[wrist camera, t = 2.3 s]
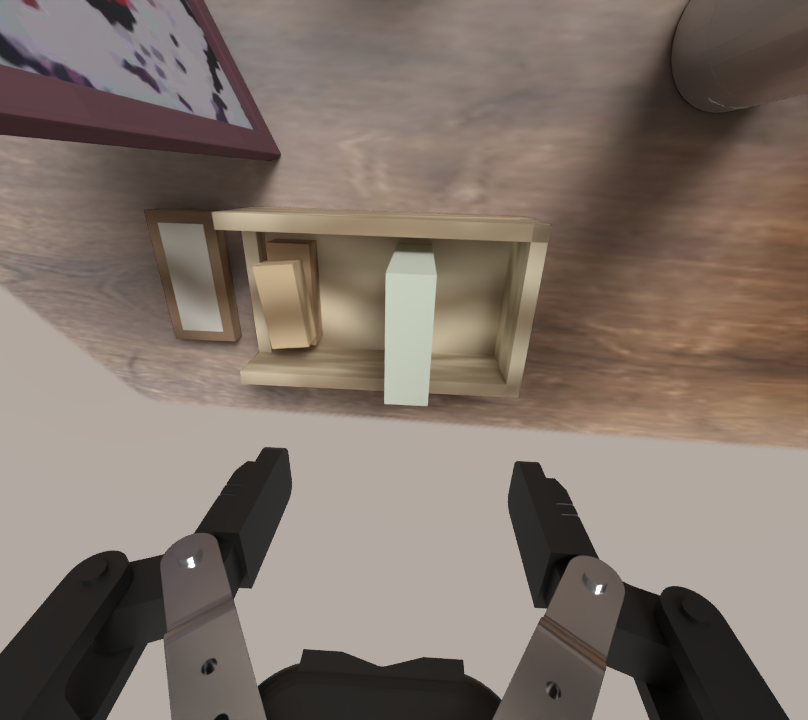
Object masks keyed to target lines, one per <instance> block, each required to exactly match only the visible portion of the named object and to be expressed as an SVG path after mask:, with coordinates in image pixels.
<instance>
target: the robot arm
mask: <svg viewBox="0 0 808 720" xmlns="http://www.w3.org/2000/svg"><path fill="white" fill-rule="evenodd" d="M671 61H672V74H673V77H674V80H675V84H676V87H677V89H678V90H679V92H680V93H681V95H682V97H683V98H684V99H685V100H686V101H687V102H688V103H689V104H691V105H692V106H693V107H695V108H698V109H700V110H702V111H706V112H712V113H721V112H730V111H734V110H739V109H743V108H744V109H746V108H750V107H754V106H758V105H761V104H764V103H768V102H773V101H777V100H781V99H786V98H790V97H794V96H798V95H803V94H807V93H808V0H690V2H689V3H688V5H687V6H686V8H685V10H684V12H683V15H682V17H681V19H680V21H679V24H678V26H677V30H676V34H675V37H674V41H673V48H672V57H671ZM291 489H292V478H291V471H290V463H289V455H288V450H287V449H286V448H271V447H265V448H263V449H262V451H261V453H260V454H259V456H258V458H257V459H256V461H255V462H252V461H247V462H246V463H244V465H242V466H241V467H239V468H238V469H237V470H236V471H235V472H234V473H233V475H232V476H231V478H230V479H229V481H228V482H227V485H226V486H225V487H224V488H223V490H222V491H221V494H220V496H218V498H217V499H216V501H215V502H214V504H213V505H212V507H211V508H210V510H209V511H208V513H207V514H206V516H205V518H204V519H203V521H202V522H201V524H200V525H199V527H198V528H197V530H196V531H195V533H194V534H191V535H189V536H186V537H184V538H182V539H180V540H178V541H177V542H176V543H174V544H173V545H172V546H171V547H170V548H169V549H168V550H167V551H166V552H165V554H163V555H159V556H155V557H151V558H146V559H142V560H137V561H133V562H129V561H128V559H127V557H126V555H125V554H124V553H122V552H120V551H106V552H102V553H99V554H96V555H93V556H91V557H89V558H87V559H86V560H84V561H82V562H81V563H79V564H78V565H77V566H75V567H74V568H73V569H72V570H71V571H70V572H69V573H68V574H67V575H66V577H65V578H64V579H63V580H62V581H61V582H60V584H59V585H58V586H57V587H56V588H55V590H54V591H53V592H52V593H51V594H50V596H49V597H48V598H47V599H46V600H45V601H44V603H43V604H42V605H41V606H40V607H39V609H38V610H37V611H36V612H35V613H34V614H33V616H32V617H31V618H30V619H29V621H27V623H26V624H25V625H24V626H23V627H22V629H21V630H20V631H19V632H18V633H17V635H16V636H15V637H14V638H13V639H12V641H11V642H10V643H9V644H8V645H7V646H6V648H5V649H4V650H3V651H2V652H1V654H0V720H106V719H107V717H108V715H109V713H110V711H111V710H112V708H113V706H114V704H115V702H116V700H117V699H118V697H119V695H120V693H121V691H122V689H123V687H124V686H125V684H126V682H127V680H128V678H129V676H130V675H131V673H132V671H133V669H134V667H135V665H136V664H137V662H138V660H139V658H140V656H141V654H142V652H143V651H144V649H145V647H146V645H147V643H149V642H153V641H157V640H161V639H164V649H165V659H166V668H167V679H168V689H169V699H170V709H171V718H172V720H592V716H593V712H594V709H595V706H596V703H597V699H598V696H599V692H600V689H601V685H602V681H603V678H604V674H605V671H606V666H608V667H610V668H613V669H615V670H617V671H620V672H622V673H625V674H627V675H629V676H631V677H633V678H634V680H635V683H636V685H637V688H638V691H639V693H640V696H641V699H642V701H643V704H644V706H645V709H646V712H647V714H648V717H649V719H650V720H789V718H788V717H787V715H786V713H785V712H784V710H783V709H782V708H781V706H780V704H779V703H778V701H777V700H776V698H775V696H774V695H773V693H772V692H771V690H770V689H769V687H768V685H767V684H766V682H765V681H764V679H763V678H762V676H761V675H760V673H759V672H758V670H757V668H756V667H755V665H754V664H753V662H752V661H751V659H750V657H749V656H748V654H747V653H746V651H745V650H744V648H743V647H742V645H741V643H740V642H739V640H738V639H737V637H736V636H735V634H734V632H733V631H732V629H731V628H730V626H729V625H728V623H727V622H726V620H725V619H724V617H723V616H722V614H721V613H720V612H719V611H718V610H717V608H716V607H715V606H714V605H713V604H711V602H709V601H708V600H707V599H705V598H704V597H703V596H701V595H700V594H698V593H696V592H694V591H692V590H689V589H686V588H683V587H679V586H671V587H668V588H666V589H664V590H663V592H662V593H661V595H660V596H659V595H657V594H654V593H651V592H648V591H645V590H642V589H639V588H636V587H634V586H631V585H629V584H627V583H625V582H623V581H622V580H621V578H620V577H619V575H618V574H617V573H616V572H615V571H614V570H613V569H612V568H611V567H610V566H609V565H607V564H606V563H604V562H603V561H601V560H599V558H598V556H597V554H596V552H595V550H594V547H593V545H592V543H591V541H590V539H589V537H588V535H587V533H586V531H585V529H584V526H583V524H582V522H581V520H580V518H579V517H578V514H577V512H576V509H575V508H574V506H573V503H572V501H571V499H570V497H569V495H568V493H567V490H566V489H565V488H564V487H563V486H562V485H561V484H560V483H559V482H558V481H557V480H556V479H553V478H546V477H545V475H544V472H543V470H542V468H541V465H540V464H539V463H538V462H523V461H517V462H515V464H514V469H513V474H512V479H511V484H510V489H509V494H508V508H509V514H510V518H511V521H512V525H513V529H514V532H515V536H516V540H517V544H518V547H519V551H520V555H521V559H522V562H523V566H524V570H525V573H526V577H527V581H528V585H529V588H530V592H531V596H532V600H533V603H534V607H535V608H547V611H546V613H545V615H544V617H542V618H541V619H540V621H539V623H538V625H537V627H536V629H535V631H534V633H533V635H532V637H531V640H530V642H529V644H528V646H527V648H526V650H525V652H524V654H523V656H522V658H521V661H520V663H519V665H518V667H517V669H516V671H515V673H514V675H513V677H512V680H511V682H510V684H509V686H508V688H507V690H506V692H505V694H504V696H503V699H502V700H501V699H500V698H499V697H498V696H497V695H496V694H495V693H494V692H493V691H492V690H491V689H490V688H488V687H487V686H485V685H484V684H483V683H481V682H480V681H478V680H476V679H474V678H472V677H470V676H468V675H465V674H464V665H463V660H457V659H442V658H427V657H423V658H419V659H414V660H410V661H406V662H402V663H398V664H394V665H389V666H385V667H380V666H377V665H375V664H372V663H370V662H367V661H364V660H362V659H359V658H357V657H354V656H352V655H349V654H346V653H344V652H337V651H322V650H307V649H304V650H303V654H302V657H301V661H300V663H299V664H295V665H292V666H290V667H287V668H284V669H283V670H281V671H279V672H277V673H275V674H273V675H272V676H270V677H269V678H268V679H266V680H265V681H263V682H262V683H261V684H260V685H259V686H257V683H256V679H255V676H254V672H253V668H252V665H251V661H250V658H249V654H248V650H247V647H246V643H245V639H244V636H243V632H242V628H241V625H240V621H239V618H238V614H237V610H236V607H235V603H234V597H235V595H236V593H237V591H238V589H239V588H252V586H253V584H254V581H255V579H256V577H257V574H258V572H259V570H260V567H261V565H262V563H263V560H264V558H265V556H266V553H267V551H268V548H269V546H270V544H271V541H272V539H273V537H274V534H275V532H276V529H277V527H278V525H279V522H280V520H281V518H282V515H283V513H284V511H285V508H286V505H287V503H288V501H289V498H290V495H291Z"/></svg>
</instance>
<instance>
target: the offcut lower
mask: <svg viewBox="0 0 808 720" xmlns="http://www.w3.org/2000/svg"><path fill="white" fill-rule="evenodd" d="M265 244H266V252H267V260H268V261H270V260H284V259H299V258H302V263H303V268H304V273H305V279H306V284H307V290H308V295H309V300H310V306H311V311H312V316H313V322H314V327H315V333H316V337H315V339H314V340H313V341H312V343H311V344H310V345H317V343H318V342H319V340H320V339H321V337H322V336H323V331H322V316H321V301H320V286H319V271H318V256H317V241H316V240H298V239H274V240H271V241H268V242H266V243H265Z"/></svg>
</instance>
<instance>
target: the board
mask: <svg viewBox="0 0 808 720" xmlns="http://www.w3.org/2000/svg"><path fill="white" fill-rule="evenodd" d="M212 212H215V211H202V210H175V209H147V210H144V213H145V217H146V221H147V225H148V229H149V233H150V237H151V241H152V245H153V249H154V253H155V257H156V261H157V265H158V269H159V273H160V277H161V281H162V285H163V289H164V293H165V297H166V301H167V305H168V309H169V313H170V317H171V321H172V325H173V329H174V333H175V337H176V339H193V340H214V341H236V340H237V339H239V338H240V337H241V336H242V335H241V329H240V323H239V317H238V311H237V305H236V299H235V293H234V287H233V281H232V275H231V269H230V263H229V257H228V251H227V245H226V239H225V233H224V230H215V229H214V223H213V218H212Z"/></svg>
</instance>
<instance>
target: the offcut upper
mask: <svg viewBox="0 0 808 720" xmlns="http://www.w3.org/2000/svg"><path fill="white" fill-rule="evenodd" d="M252 268H253V272H254V276H255V280H256V284H257V288H258V292H259V296H260V300H261V305H262V309H263V313H264V317H265V321H266V325H267V329H268V333H269V337H270V341H271V346H272V349H279V348H299V347H309V346H310V344H311V343H312V341H313V340H314V339H315V337H316V333H315V327H314V322H313V316H312V311H311V306H310V300H309V295H308V290H307V284H306V279H305V273H304V268H303V263H302V258H299V259H284V260H270V261H263V262H261V263H259V264H257V265H255V266H253V267H252Z"/></svg>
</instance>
